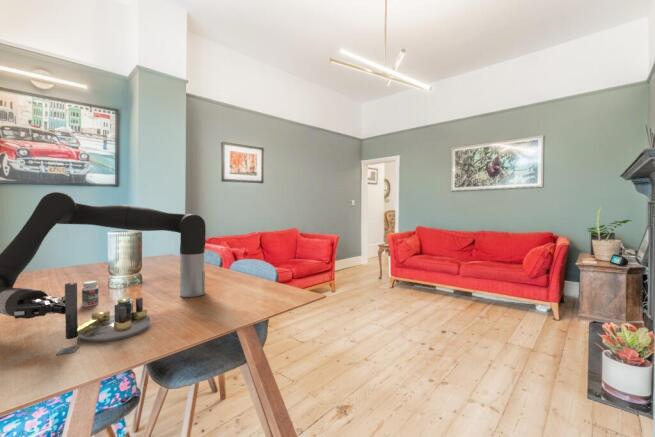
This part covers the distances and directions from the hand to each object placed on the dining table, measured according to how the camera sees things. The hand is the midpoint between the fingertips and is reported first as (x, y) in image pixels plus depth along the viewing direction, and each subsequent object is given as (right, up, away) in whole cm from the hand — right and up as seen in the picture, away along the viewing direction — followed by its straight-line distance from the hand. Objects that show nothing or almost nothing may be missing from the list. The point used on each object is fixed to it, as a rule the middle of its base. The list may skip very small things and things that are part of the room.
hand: (68, 309), depth 78 cm
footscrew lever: (0, -7, +6) cm, 9 cm away
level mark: (+2, -10, -3) cm, 10 cm away
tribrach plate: (+5, -9, +10) cm, 15 cm away
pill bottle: (-19, -8, +32) cm, 38 cm away
